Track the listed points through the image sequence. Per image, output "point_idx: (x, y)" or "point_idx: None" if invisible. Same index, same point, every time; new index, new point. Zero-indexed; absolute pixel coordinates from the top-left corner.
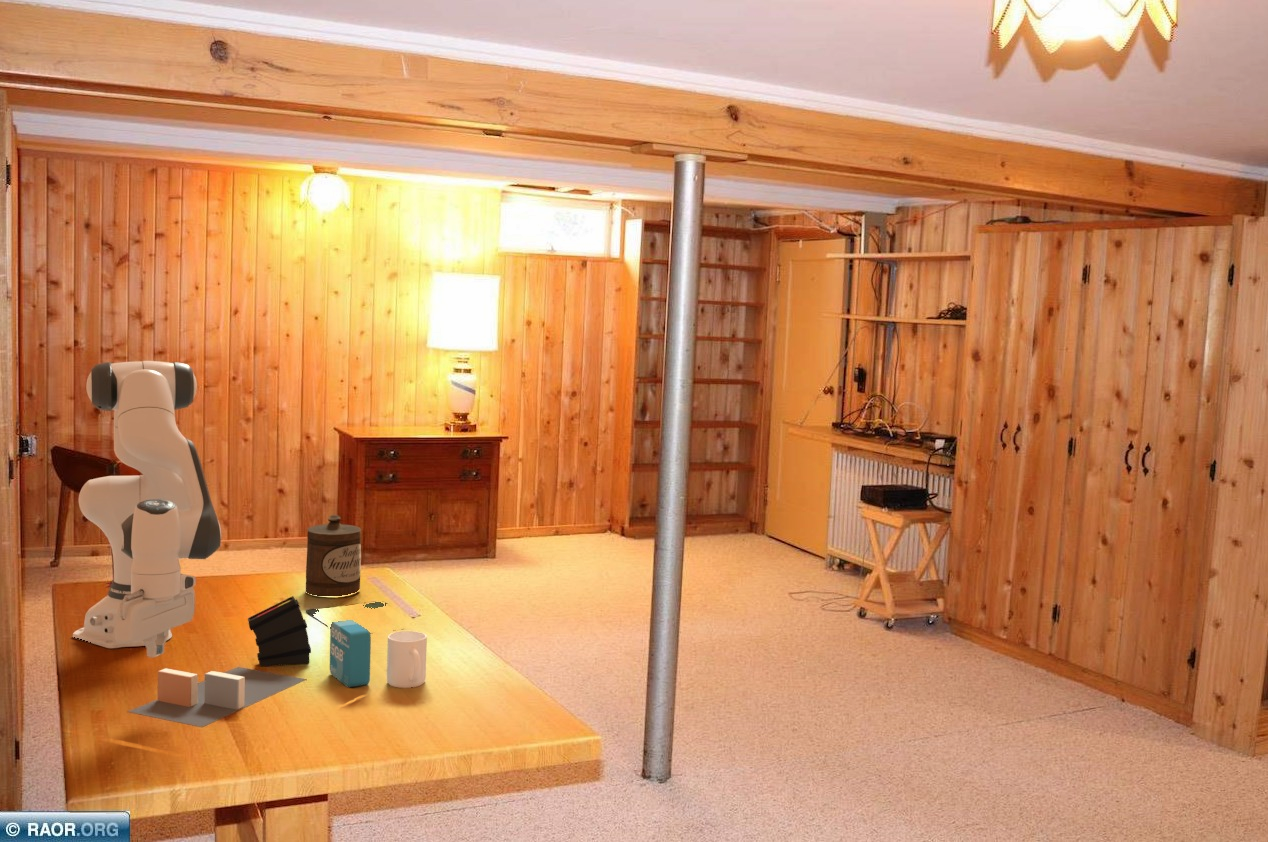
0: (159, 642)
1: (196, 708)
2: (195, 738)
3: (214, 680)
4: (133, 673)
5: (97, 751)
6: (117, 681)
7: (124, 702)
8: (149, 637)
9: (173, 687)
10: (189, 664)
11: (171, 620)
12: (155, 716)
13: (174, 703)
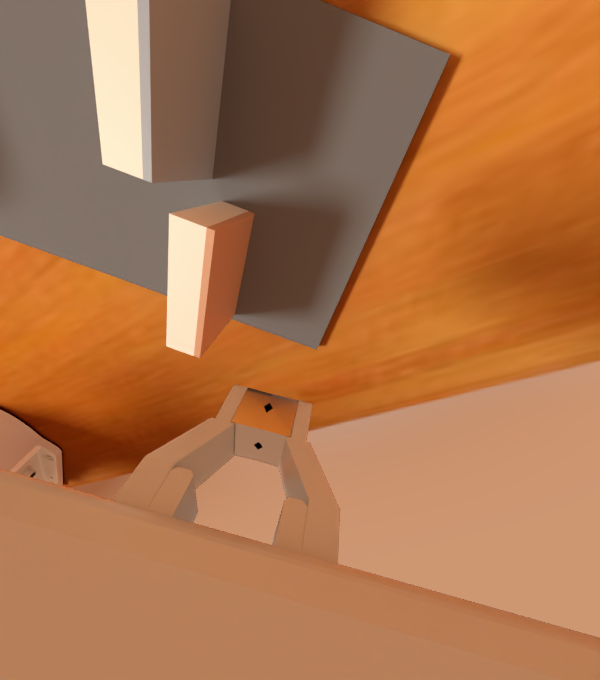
0: (221, 449)
1: (261, 183)
2: (547, 36)
3: (165, 116)
4: (117, 399)
5: (581, 325)
6: (161, 409)
7: (250, 371)
8: (432, 593)
9: (225, 287)
10: (18, 332)
11: (6, 621)
12: (343, 277)
13: (243, 267)
